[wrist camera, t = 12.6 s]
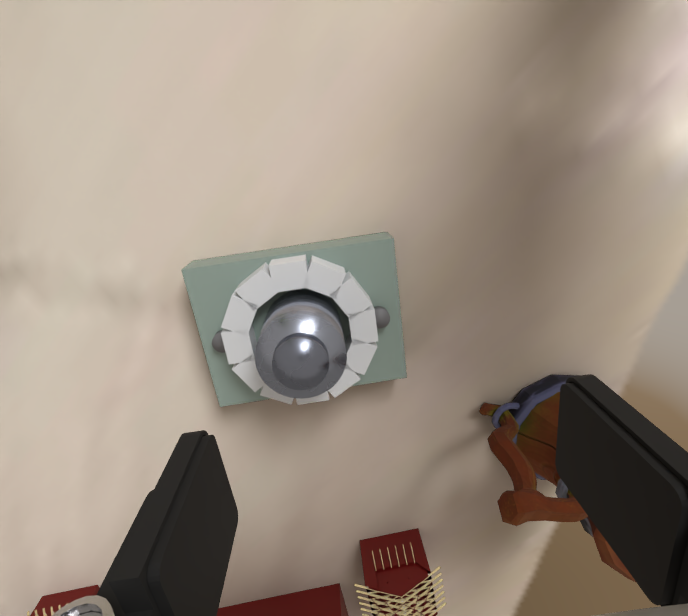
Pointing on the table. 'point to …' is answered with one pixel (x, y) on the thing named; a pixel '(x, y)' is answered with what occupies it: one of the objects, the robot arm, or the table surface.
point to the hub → (301, 345)
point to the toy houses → (335, 586)
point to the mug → (538, 462)
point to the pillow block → (288, 275)
